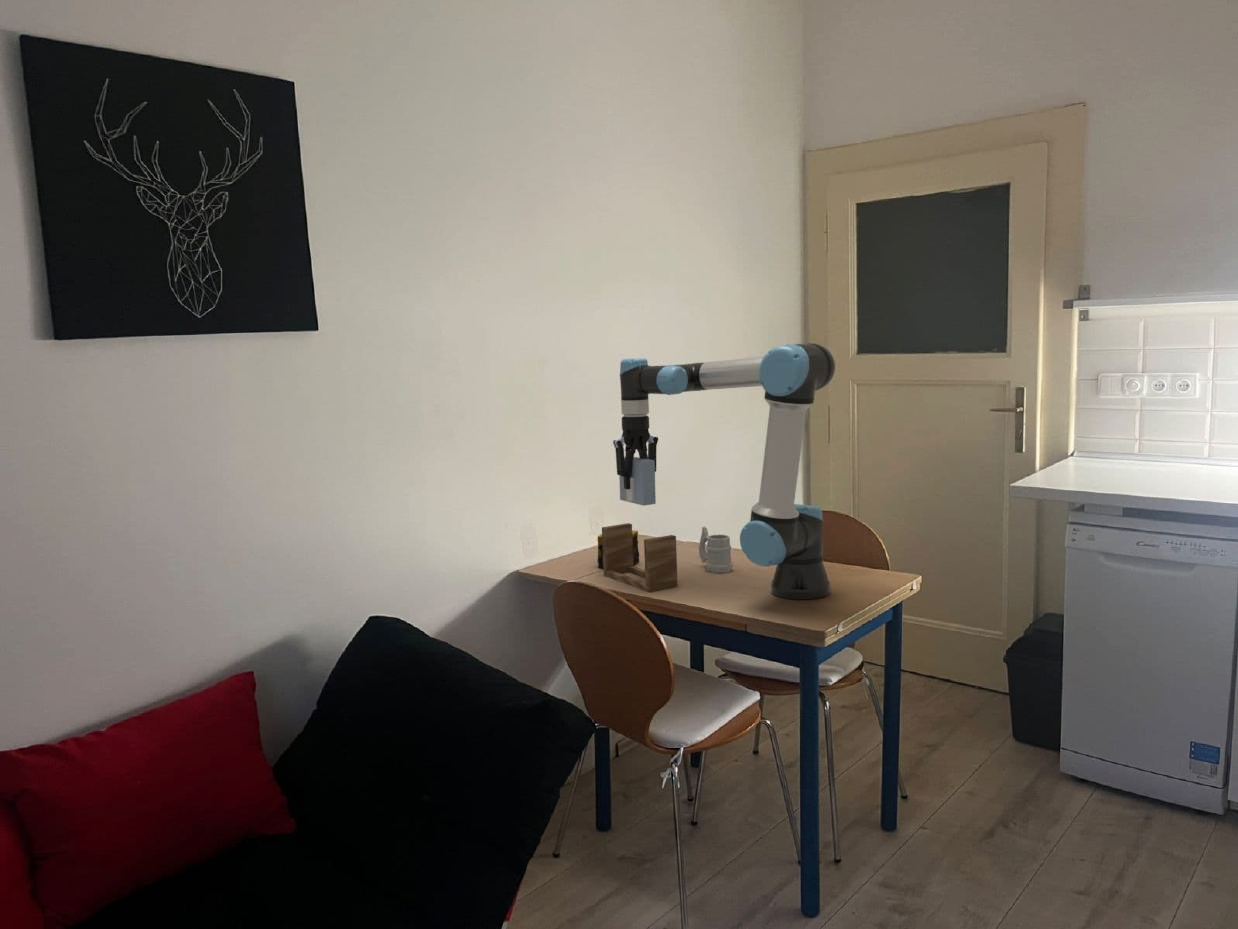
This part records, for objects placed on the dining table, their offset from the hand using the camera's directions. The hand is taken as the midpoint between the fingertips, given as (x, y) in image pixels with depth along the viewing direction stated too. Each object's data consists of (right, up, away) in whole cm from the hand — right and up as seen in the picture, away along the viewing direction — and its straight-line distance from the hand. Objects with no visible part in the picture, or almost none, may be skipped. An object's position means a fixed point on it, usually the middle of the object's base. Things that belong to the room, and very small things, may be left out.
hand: (637, 499), depth 255 cm
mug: (+23, -21, +13) cm, 33 cm away
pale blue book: (0, -1, 0) cm, 1 cm away
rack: (+1, -23, +3) cm, 23 cm away
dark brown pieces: (-5, -21, +22) cm, 31 cm away
